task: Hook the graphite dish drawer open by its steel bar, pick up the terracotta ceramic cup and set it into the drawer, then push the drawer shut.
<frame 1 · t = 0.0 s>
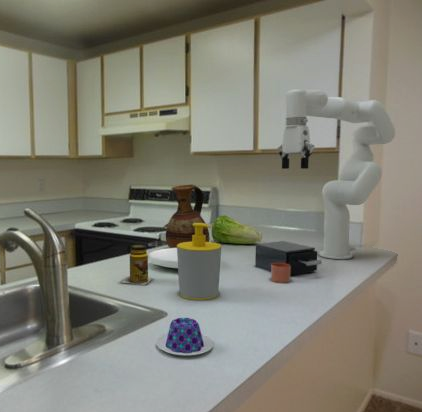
hand: (294, 168, 157), 37 cm above the counter, tool pointing down, fingers open, 9 cm apart
cup: (280, 280, 135), on the counter
dish drawer: (293, 259, 146), point 4 cm above the counter, slide at 0.5 cm
lettuce: (236, 243, 201), on the counter
ceramic pitcher: (187, 249, 188), on the counter
pudding: (184, 346, 86), on the counter
dark gray drawer box: (283, 268, 150), on the counter
plate: (183, 265, 158), on the counter
soap bottle: (198, 294, 122), on the counter
condiment: (136, 281, 136), on the counter
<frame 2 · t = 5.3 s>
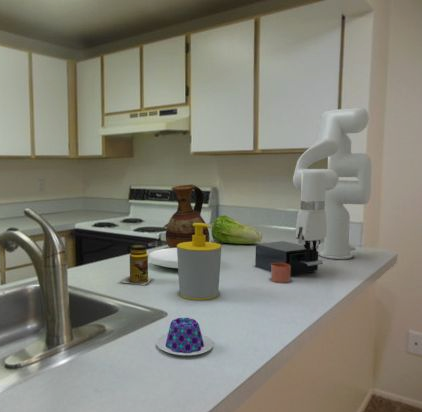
hand: (310, 260, 139), 6 cm above the counter, tool pointing down, fingers closed
dish drawer: (294, 260, 145), point 4 cm above the counter, slide at 0.9 cm, touching gripper
everything else where it was.
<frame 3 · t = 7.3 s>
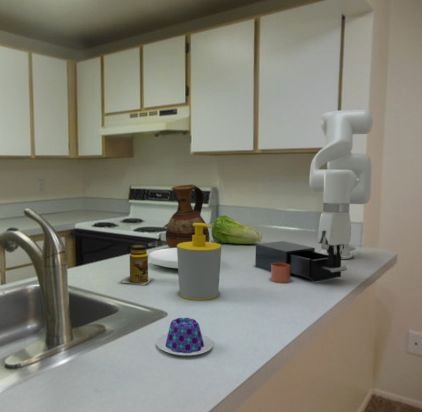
hand: (334, 266, 130), 6 cm above the counter, tool pointing down, fingers closed
dish drawer: (315, 265, 137), point 4 cm above the counter, slide at 10.4 cm, touching gripper
everything else where it was.
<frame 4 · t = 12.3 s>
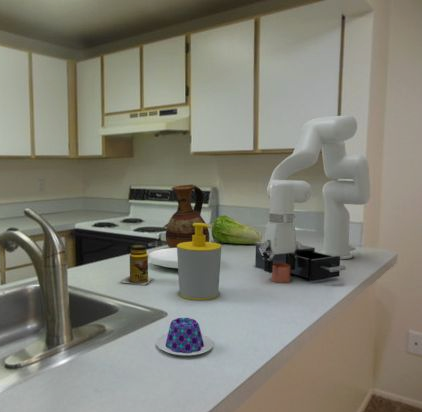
hand: (279, 270, 135), 3 cm above the counter, tool pointing down, fingers open, 9 cm apart
dish drawer: (314, 265, 137), point 4 cm above the counter, slide at 9.9 cm
everything else where it was.
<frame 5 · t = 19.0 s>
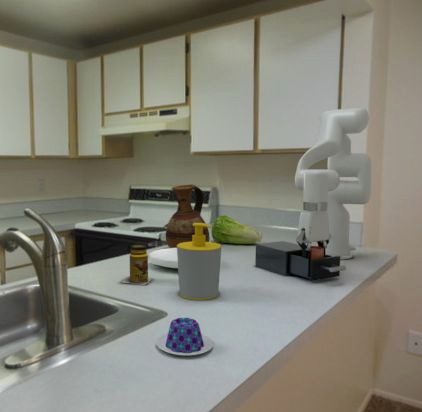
hand: (313, 260, 138), 6 cm above the counter, tool pointing down, fingers closed on cup, 6 cm apart
cup: (313, 262, 138), point 5 cm above the counter, touching gripper
everything else where it was.
when the fingers open (8 cm above the counter, at t = 35.4 s): cup drops 5 cm, resting on dish drawer.
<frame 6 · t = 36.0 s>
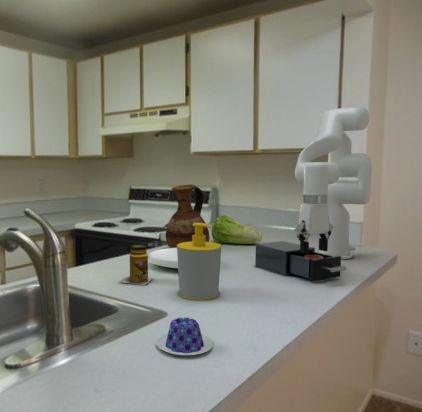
hand: (313, 251, 137), 9 cm above the counter, tool pointing down, fingers open, 8 cm apart
cup: (313, 271, 138), point 2 cm above the counter, touching dish drawer
dish drawer: (315, 265, 137), point 4 cm above the counter, slide at 10.2 cm, touching cup
everything else where it was.
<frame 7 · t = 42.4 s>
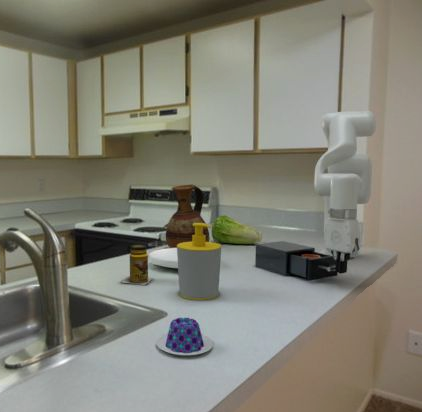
hand: (341, 272, 128), 4 cm above the counter, tool pointing down, fingers closed
cup: (310, 271, 139), point 2 cm above the counter, touching dish drawer
dish drawer: (312, 264, 138), point 4 cm above the counter, slide at 9.0 cm, touching cup, gripper
everything else where it was.
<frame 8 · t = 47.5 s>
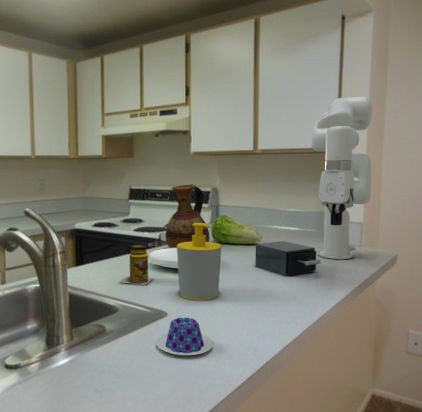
hand: (336, 224, 129), 19 cm above the counter, tool pointing down, fingers closed
cup: (290, 265, 147), point 2 cm above the counter, touching dish drawer
dish drawer: (292, 259, 146), point 4 cm above the counter, slide at 0.0 cm, touching cup
everything else where it was.
at the end: cup inside the target area in the dark gray drawer box (3.3 cm from its centre), point 2.0 cm above the dark gray drawer box's base; cup tilted 0°; dish drawer slide at 0.0 cm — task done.
